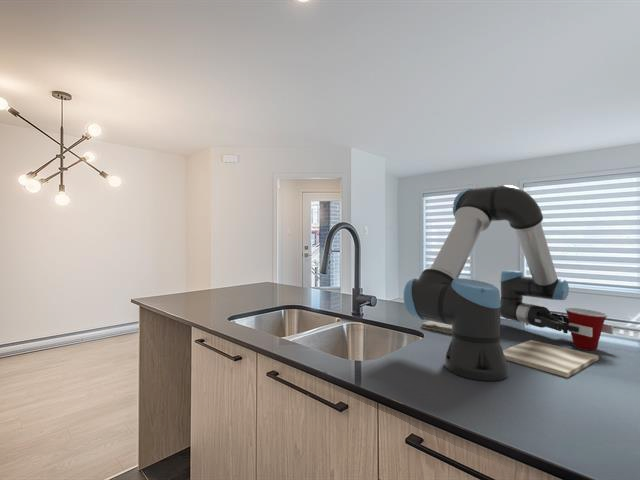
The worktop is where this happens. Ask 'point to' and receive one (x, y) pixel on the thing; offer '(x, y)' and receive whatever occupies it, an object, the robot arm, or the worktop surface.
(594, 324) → the plastic cup
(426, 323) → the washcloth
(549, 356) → the cutting board
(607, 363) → the worktop surface
